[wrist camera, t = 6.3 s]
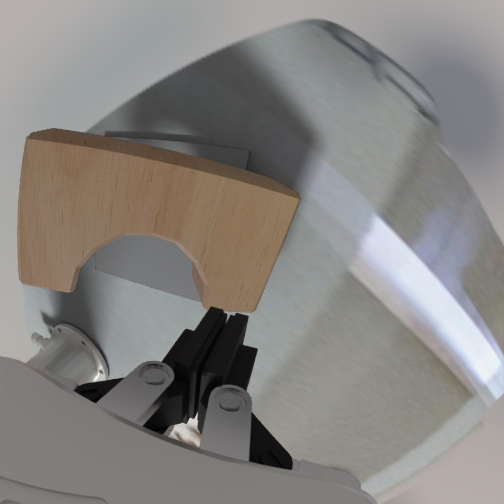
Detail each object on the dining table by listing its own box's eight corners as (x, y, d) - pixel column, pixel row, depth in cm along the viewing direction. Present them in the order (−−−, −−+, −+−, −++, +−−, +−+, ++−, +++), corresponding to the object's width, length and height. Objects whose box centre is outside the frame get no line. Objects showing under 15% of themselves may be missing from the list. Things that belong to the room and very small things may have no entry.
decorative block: (255, 316, 24) (18, 287, 15) (235, 280, 29) (37, 251, 20) (306, 197, 21) (23, 133, 11) (274, 177, 25) (51, 126, 16)
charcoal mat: (98, 267, 32) (95, 268, 32) (104, 137, 27) (100, 136, 26) (224, 305, 30) (222, 308, 29) (249, 150, 25) (248, 150, 24)
